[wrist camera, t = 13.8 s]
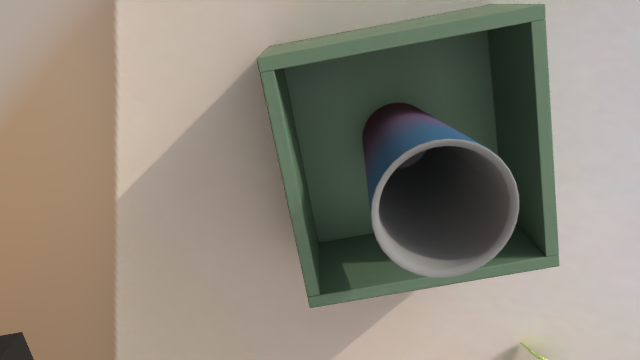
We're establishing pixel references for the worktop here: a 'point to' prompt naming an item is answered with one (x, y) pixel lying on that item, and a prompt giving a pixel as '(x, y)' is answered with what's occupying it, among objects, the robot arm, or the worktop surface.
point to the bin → (429, 96)
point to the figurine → (534, 353)
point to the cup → (435, 193)
